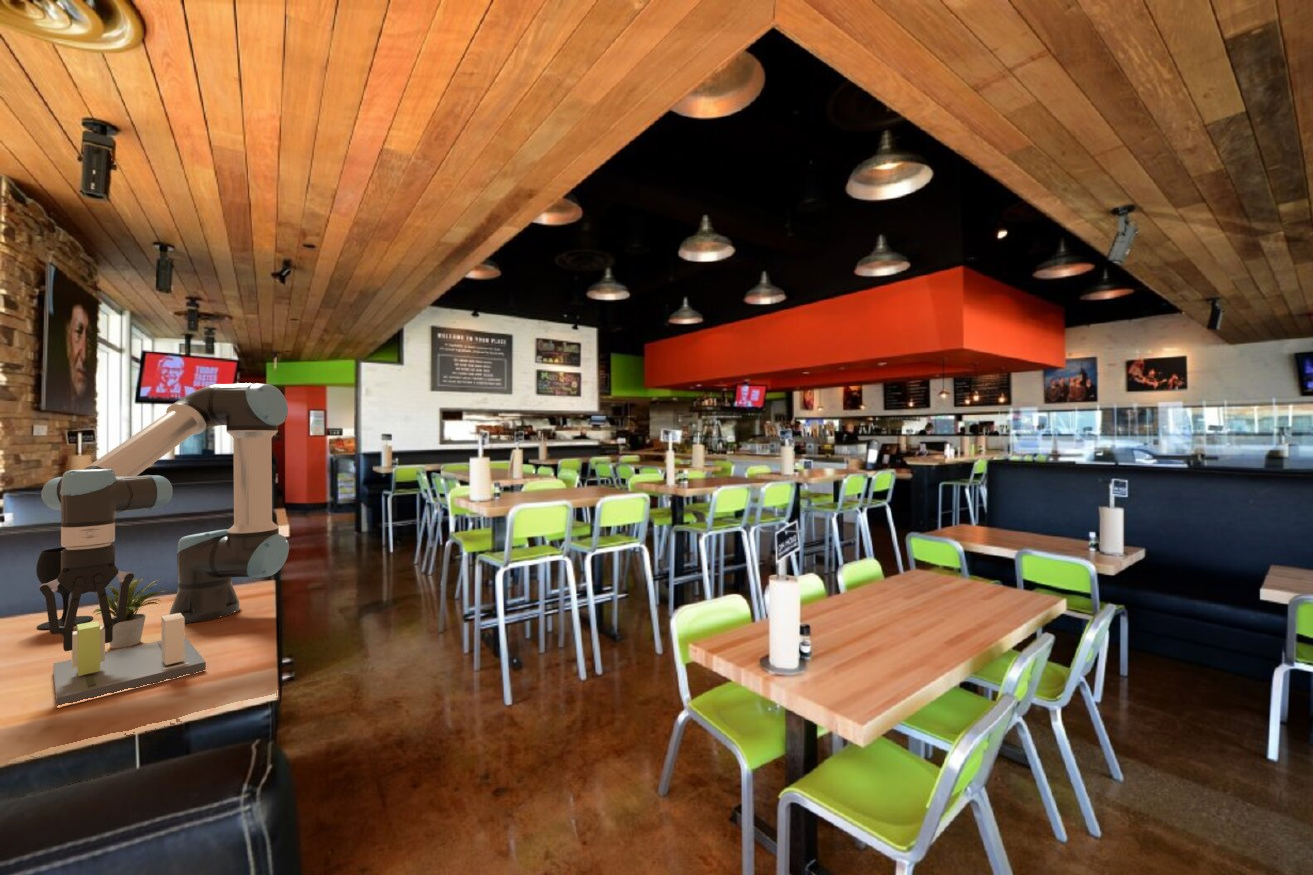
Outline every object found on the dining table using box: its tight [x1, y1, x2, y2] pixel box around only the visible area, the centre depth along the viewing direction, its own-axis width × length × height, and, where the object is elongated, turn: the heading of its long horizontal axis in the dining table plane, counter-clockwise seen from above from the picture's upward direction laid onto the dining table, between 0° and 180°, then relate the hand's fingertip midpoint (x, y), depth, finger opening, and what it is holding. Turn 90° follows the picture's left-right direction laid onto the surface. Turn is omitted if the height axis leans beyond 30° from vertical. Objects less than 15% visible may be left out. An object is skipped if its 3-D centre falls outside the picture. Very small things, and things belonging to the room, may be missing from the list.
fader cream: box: [161, 613, 186, 665], centre depth 114 cm, size 3×5×9 cm, turn 49°
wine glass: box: [35, 546, 94, 631], centre depth 146 cm, size 10×10×20 cm
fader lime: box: [76, 620, 101, 676], centre depth 109 cm, size 3×5×9 cm, turn 49°
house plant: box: [92, 576, 169, 649], centre depth 129 cm, size 14×14×16 cm
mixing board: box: [52, 636, 207, 707], centre depth 114 cm, size 21×24×2 cm
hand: (88, 662), depth 109 cm, fingers closed on fader lime, 3 cm apart
